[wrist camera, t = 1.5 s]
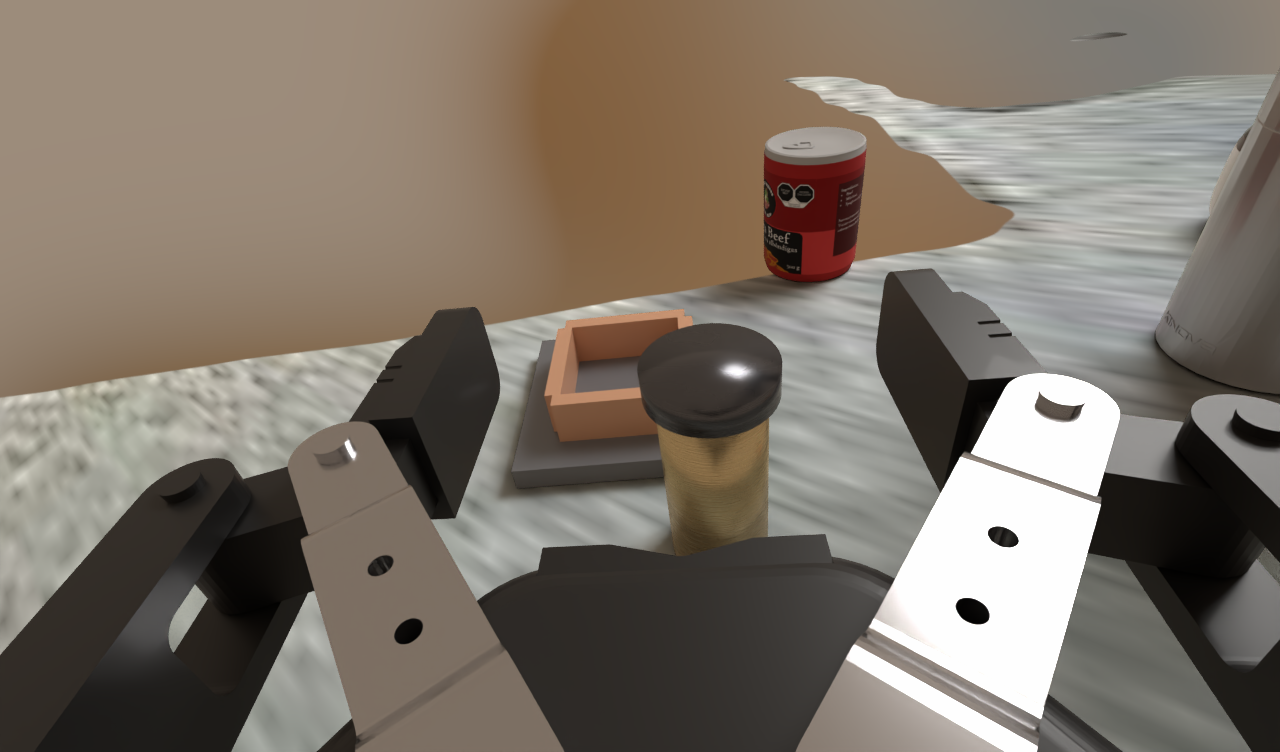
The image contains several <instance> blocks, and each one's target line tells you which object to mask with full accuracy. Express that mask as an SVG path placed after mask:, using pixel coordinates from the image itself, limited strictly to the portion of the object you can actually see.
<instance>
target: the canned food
mask: <svg viewBox="0 0 1280 752" xmlns="http://www.w3.org/2000/svg"><path fill="white" fill-rule="evenodd" d="M865 157H866V137H865V136H864V135H863V134H861V133H859V132H856V131H853V130H849V129H845V128H838V127H811V128H802V129H795V130H791V131H787V132H784V133H780V134H778V135H776V136H774V137H772V138H770V139H769V140H768V141H767V142H766V144H765V151H764V258H765V261H766V264H767V267H768V269H769V270H770V271H771V272H772V273H773V274H775V275H777V276H779V277H781V278H784V279H787V280H792V281H799V282H817V281H824V280H829V279H832V278H835V277H838V276H840V275H842V274H843V273H845V272H846V271H847V270H848V269H849V268H850V266H851V264H852V262H853V260H854V258H855V250H856V242H857V233H858V223H859V214H860V206H861V196H862V187H863V177H864V169H865Z"/></svg>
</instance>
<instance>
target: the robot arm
mask: <svg viewBox="0 0 1280 752" xmlns="http://www.w3.org/2000/svg"><path fill="white" fill-rule="evenodd" d="M1155 333H1156V340H1157V342H1158V344H1159V345H1160V347H1161V348H1162V349H1163V350H1164V351H1165V352H1166V354H1167V355H1168V356H1170V357H1171V358H1172V359H1174V360H1175V361H1177V362H1178V363H1179V364H1181V365H1183V366H1185V367H1186V368H1188V369H1190V370H1192V371H1194V372H1196V373H1198V374H1200V375H1203V376H1205V377H1208V378H1210V379H1213V380H1215V381H1218V382H1222V383H1225V384H1228V385H1231V386H1235V387H1239V388H1244V389H1248V390H1253V391H1258V392H1266V393H1273V394H1280V68H1279V70H1278V72H1277V74H1276V77H1275V79H1274V81H1273V83H1272V85H1271V87H1270V89H1269V91H1268V93H1267V96H1266V98H1265V100H1264V102H1263V104H1262V106H1261V108H1260V110H1259V112H1258V115H1257V117H1256V119H1255V121H1254V124H1253V126H1252V128H1251V130H1250V132H1249V134H1248V136H1247V138H1246V140H1245V143H1244V145H1243V147H1242V149H1241V151H1240V153H1239V155H1238V157H1237V159H1236V162H1235V164H1234V166H1233V168H1232V170H1231V172H1230V174H1229V176H1228V178H1227V181H1226V183H1225V185H1224V187H1223V189H1222V191H1221V193H1220V195H1219V197H1218V200H1217V202H1216V204H1215V206H1214V208H1213V210H1212V212H1211V214H1210V216H1209V219H1208V221H1207V223H1206V225H1205V227H1204V229H1203V231H1202V233H1201V236H1200V238H1199V240H1198V242H1197V244H1196V246H1195V248H1194V250H1193V252H1192V255H1191V257H1190V259H1189V261H1188V263H1187V265H1186V267H1185V269H1184V271H1183V274H1182V276H1181V278H1180V280H1179V282H1178V284H1177V286H1176V288H1175V290H1174V293H1173V295H1172V297H1171V299H1170V301H1169V303H1168V306H1167V308H1166V310H1165V312H1164V314H1163V316H1162V318H1161V321H1160V323H1159V325H1158V327H1157V329H1156V331H1155ZM876 355H877V363H878V367H879V371H880V374H881V376H882V378H883V380H884V382H885V384H886V386H887V388H888V390H889V392H890V394H891V396H892V398H893V400H894V402H895V404H896V406H897V408H898V410H899V412H900V414H901V416H902V418H903V419H904V421H905V423H906V425H907V427H908V429H909V431H910V433H911V435H912V437H913V439H914V441H915V443H916V445H917V447H918V449H919V451H920V453H921V455H922V457H923V459H924V461H925V463H926V465H927V467H928V469H929V471H930V473H931V475H932V477H933V479H934V481H935V483H936V485H937V487H938V489H939V491H940V493H941V494H940V496H939V498H938V500H937V502H936V504H935V506H934V507H933V509H932V511H931V513H930V515H929V517H928V519H927V521H926V522H925V524H924V526H923V528H922V530H921V532H920V534H919V535H918V537H917V539H916V541H915V543H914V545H913V547H912V548H911V550H910V552H909V554H908V556H907V558H906V560H905V562H904V563H903V565H902V567H901V569H900V571H899V573H898V575H897V576H896V578H892V577H890V576H888V575H886V574H884V573H882V572H880V571H878V570H876V569H873V568H870V567H868V566H865V565H863V564H860V563H856V562H853V561H849V560H845V559H841V558H836V557H831V553H830V550H829V546H828V542H827V539H826V535H825V534H819V535H798V536H778V537H757V538H750V539H747V540H743V541H739V542H735V543H732V544H728V545H724V546H721V547H717V548H713V549H709V550H706V551H702V552H698V553H694V554H691V555H686V556H673V555H667V554H661V553H656V552H650V551H644V550H638V549H633V548H627V547H621V546H615V545H590V546H569V547H548V548H543V549H542V554H541V559H540V564H539V569H538V570H537V571H533V572H530V573H527V574H525V575H522V576H520V577H517V578H514V579H512V580H510V581H508V582H506V583H504V584H502V585H500V586H499V587H497V588H495V589H494V590H492V591H491V592H489V593H487V594H486V595H484V596H483V597H482V598H480V599H479V600H478V601H476V599H475V597H474V595H473V594H472V592H471V590H470V588H469V586H468V585H467V583H466V581H465V579H464V578H463V576H462V574H461V572H460V571H459V569H458V567H457V565H456V564H455V562H454V560H453V558H452V556H451V555H450V553H449V551H448V549H447V548H446V546H445V544H444V542H443V541H442V539H441V537H440V535H439V534H438V532H437V530H436V528H435V526H434V525H433V523H432V521H431V519H450V518H456V515H457V512H458V509H459V507H460V504H461V501H462V498H463V496H464V493H465V490H466V488H467V485H468V482H469V479H470V477H471V474H472V471H473V468H474V466H475V463H476V460H477V457H478V455H479V452H480V449H481V446H482V444H483V441H484V438H485V435H486V433H487V430H488V427H489V424H490V422H491V419H492V416H493V414H494V411H495V408H496V405H497V403H498V399H499V394H500V379H499V373H498V369H497V366H496V362H495V359H494V356H493V352H492V349H491V346H490V342H489V339H488V336H487V333H486V329H485V326H484V323H483V320H482V317H481V314H480V312H479V311H478V309H477V308H475V307H468V308H457V309H446V310H438V311H437V312H436V313H435V314H434V316H433V317H432V319H431V320H430V322H429V324H428V325H427V327H426V329H425V330H424V332H423V333H422V335H420V336H414V337H413V338H412V339H410V340H409V341H408V342H406V343H405V344H404V345H403V346H401V347H400V348H399V349H397V350H396V351H395V353H394V354H393V356H392V357H391V359H390V360H389V362H388V363H387V365H386V366H385V368H386V370H383V371H382V372H381V374H380V375H379V377H378V378H377V383H374V385H373V386H372V388H371V389H370V391H369V392H368V394H367V395H366V397H365V398H364V400H363V401H362V403H361V404H360V406H359V407H358V409H357V410H356V412H355V413H354V415H353V416H352V418H351V419H350V421H349V422H346V423H341V424H337V425H334V426H331V427H328V428H326V429H323V430H321V431H319V432H317V433H316V434H314V435H312V436H311V437H309V438H308V439H306V440H305V441H304V442H303V443H301V444H300V445H299V446H298V447H297V448H296V450H295V451H294V452H293V453H292V455H291V457H290V459H289V461H288V467H285V468H281V469H278V470H274V471H271V472H267V473H264V474H260V475H256V476H253V477H249V478H246V479H243V478H242V477H241V476H240V474H239V473H238V471H237V470H236V468H235V467H234V465H233V464H232V463H231V462H230V461H228V460H225V459H219V458H212V459H204V460H200V461H196V462H193V463H190V464H187V465H185V466H182V467H180V468H178V469H176V470H174V471H172V472H170V473H168V474H166V475H165V476H163V477H162V478H160V479H159V480H157V481H156V482H154V483H153V484H152V485H151V486H150V487H148V488H147V489H146V490H145V491H144V492H143V493H142V494H141V496H140V497H139V498H138V499H137V500H136V501H135V502H134V503H133V505H132V506H131V507H130V508H129V509H128V510H127V511H126V513H125V514H124V515H123V516H122V517H121V518H120V519H119V521H118V522H117V523H116V524H115V525H114V526H113V527H112V529H111V530H110V531H109V532H108V533H107V534H106V535H105V536H104V538H103V539H102V540H101V541H100V542H99V543H98V544H97V546H96V547H95V548H94V549H93V550H92V551H91V552H90V554H89V555H88V556H87V557H86V558H85V559H84V560H83V561H82V563H81V564H80V565H79V566H78V567H77V568H76V569H75V571H74V572H73V573H72V574H71V575H70V576H69V577H68V579H67V580H66V581H65V582H64V583H63V584H62V585H61V587H60V588H59V589H58V590H57V591H56V592H55V593H54V594H53V596H52V597H51V598H50V599H49V600H48V601H47V602H46V604H45V605H44V606H43V607H42V608H41V609H40V610H39V612H38V613H37V614H36V615H35V616H34V617H33V618H32V619H31V621H30V622H29V623H28V624H27V625H26V626H25V627H24V629H23V630H22V631H21V632H20V633H19V634H18V635H17V637H16V638H15V639H14V640H13V641H12V642H11V643H10V644H9V646H8V647H7V648H6V649H5V650H4V651H3V652H2V654H1V655H0V752H231V751H232V749H233V747H234V744H235V742H236V740H237V738H238V736H239V734H240V732H241V730H242V728H243V726H244V724H245V722H246V720H247V718H248V716H249V714H250V711H251V709H252V707H253V705H254V703H255V701H256V699H257V697H258V695H259V693H260V691H261V689H262V687H263V685H264V683H265V681H266V679H267V676H268V674H269V672H270V670H271V668H272V666H273V664H274V662H275V660H276V658H277V656H278V654H279V652H280V650H281V648H282V646H283V643H284V641H285V639H286V637H287V635H288V633H289V631H290V629H291V627H292V625H293V623H294V621H295V619H296V617H297V615H298V613H299V610H300V608H301V606H302V604H303V602H304V600H305V598H306V596H307V594H308V593H309V592H312V591H315V594H316V597H317V600H318V604H319V607H320V611H321V614H322V617H323V621H324V624H325V627H326V631H327V634H328V638H329V641H330V644H331V648H332V651H333V655H334V658H335V661H336V665H337V668H338V672H339V675H340V678H341V682H342V685H343V689H344V692H345V695H346V699H347V702H348V706H349V709H350V712H351V716H352V719H351V720H350V721H349V722H348V723H347V724H346V725H344V726H343V727H342V728H341V729H340V730H339V731H338V732H337V733H336V734H335V735H334V736H333V737H332V738H331V739H330V740H329V741H328V742H327V743H326V744H325V745H323V746H322V747H321V748H320V749H319V750H318V751H317V752H1122V751H1121V750H1120V749H1119V748H1117V747H1116V746H1115V745H1113V744H1112V743H1111V742H1109V741H1108V740H1107V739H1106V738H1104V737H1103V736H1102V735H1100V734H1099V733H1098V732H1097V731H1095V730H1094V729H1093V728H1091V727H1090V726H1089V725H1088V724H1086V723H1085V722H1084V721H1082V720H1081V719H1080V718H1078V717H1077V716H1076V715H1075V714H1073V713H1072V712H1071V711H1069V710H1068V709H1067V708H1066V707H1064V706H1063V705H1062V704H1060V703H1059V702H1058V701H1057V700H1055V699H1054V698H1053V697H1051V696H1050V695H1049V694H1048V691H1049V687H1050V683H1051V680H1052V676H1053V673H1054V669H1055V666H1056V662H1057V658H1058V655H1059V651H1060V648H1061V644H1062V641H1063V637H1064V633H1065V630H1066V626H1067V623H1068V619H1069V616H1070V612H1071V608H1072V605H1073V601H1074V598H1075V594H1076V591H1077V587H1078V583H1079V580H1080V576H1081V573H1082V569H1083V566H1084V562H1085V558H1086V555H1087V553H1091V554H1096V555H1101V556H1106V557H1111V558H1116V559H1122V560H1125V561H1126V563H1127V564H1128V566H1129V567H1130V569H1131V570H1132V572H1133V573H1134V575H1135V576H1136V578H1137V579H1138V581H1139V582H1140V584H1141V585H1142V587H1143V588H1144V590H1145V591H1146V593H1147V594H1148V596H1149V597H1150V599H1151V600H1152V602H1153V603H1154V605H1155V606H1156V608H1157V609H1158V611H1159V612H1160V614H1161V615H1162V617H1163V618H1164V620H1165V621H1166V623H1167V624H1168V626H1169V628H1170V629H1171V631H1172V632H1173V634H1174V635H1175V637H1176V638H1177V640H1178V641H1179V643H1180V644H1181V646H1182V647H1183V649H1184V650H1185V652H1186V653H1187V655H1188V656H1189V658H1190V659H1191V661H1192V662H1193V664H1194V665H1195V667H1196V668H1197V670H1198V671H1199V673H1200V674H1201V676H1202V677H1203V679H1204V680H1205V682H1206V683H1207V685H1208V686H1209V688H1210V689H1211V691H1212V692H1213V694H1214V695H1215V697H1216V698H1217V700H1218V701H1219V703H1220V704H1221V706H1222V707H1223V709H1224V710H1225V712H1226V713H1227V715H1228V716H1229V718H1230V719H1231V721H1232V722H1233V724H1234V725H1235V727H1236V728H1237V730H1238V731H1239V733H1240V734H1241V736H1242V737H1243V739H1244V740H1245V742H1246V743H1247V745H1248V746H1249V748H1250V749H1251V751H1252V752H1280V585H1279V584H1278V582H1277V581H1276V580H1275V579H1274V578H1273V577H1272V576H1271V574H1270V573H1269V572H1268V571H1267V570H1266V569H1265V568H1264V566H1263V565H1262V564H1261V563H1260V562H1259V561H1258V560H1257V558H1258V557H1259V555H1260V554H1261V552H1262V551H1263V550H1264V548H1265V547H1266V548H1267V549H1268V550H1269V551H1270V552H1271V553H1272V554H1273V555H1274V557H1275V558H1276V559H1277V560H1278V561H1279V562H1280V404H1279V403H1275V402H1272V401H1269V400H1265V399H1261V398H1256V397H1251V396H1245V395H1234V394H1220V395H1212V396H1207V397H1204V398H1202V399H1199V400H1198V401H1196V402H1195V403H1194V405H1193V406H1192V408H1191V409H1190V411H1189V413H1188V415H1187V417H1186V419H1185V421H1184V422H1178V421H1170V420H1162V419H1155V418H1147V417H1139V416H1131V415H1125V414H1120V413H1119V409H1118V407H1117V405H1116V403H1115V402H1114V401H1113V400H1112V399H1111V398H1110V397H1109V396H1108V395H1107V394H1106V393H1104V392H1103V391H1101V390H1100V389H1098V388H1096V387H1094V386H1092V385H1090V384H1088V383H1085V382H1083V381H1080V380H1077V379H1074V378H1070V377H1066V376H1061V375H1053V374H1048V373H1047V371H1046V370H1045V369H1044V368H1043V367H1042V366H1041V365H1040V364H1039V363H1038V361H1037V360H1036V359H1035V358H1034V357H1033V356H1032V355H1031V354H1030V352H1029V351H1028V350H1027V349H1026V348H1025V347H1024V346H1023V345H1022V344H1021V342H1020V341H1019V340H1018V339H1017V338H1016V337H1015V336H1012V332H1011V331H1010V330H1009V329H1008V328H1007V327H1006V326H1005V325H1004V323H1000V319H999V318H998V317H997V316H996V314H995V313H994V312H993V311H992V310H991V309H990V308H989V307H988V306H987V304H985V303H983V302H981V301H979V300H977V299H976V298H974V297H972V296H970V295H968V294H966V293H964V292H952V291H951V290H950V289H949V287H948V286H947V285H946V284H945V283H944V281H943V280H942V279H941V278H940V277H939V275H938V274H937V273H936V272H935V271H934V270H933V269H919V270H907V271H895V272H890V273H888V275H887V276H886V279H885V283H884V289H883V297H882V305H881V312H880V320H879V327H878V335H877V343H876ZM194 585H196V586H197V587H198V588H199V589H200V590H201V591H202V593H203V594H204V595H205V596H206V597H207V598H208V600H207V601H206V603H205V604H204V606H203V608H202V609H201V611H200V612H199V614H198V615H197V617H196V619H195V620H194V622H193V623H192V625H191V627H190V628H189V630H188V631H187V633H186V634H185V636H184V638H183V639H182V641H181V642H180V644H179V645H178V647H177V649H176V650H175V652H174V653H173V652H172V650H171V648H170V645H169V639H168V633H169V627H170V624H171V621H172V618H173V616H174V615H175V613H176V611H177V610H178V608H179V607H180V606H181V604H182V603H183V601H184V600H185V598H186V597H187V595H188V594H189V592H190V591H191V589H192V588H193V586H194Z"/></svg>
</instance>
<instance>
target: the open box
mask: <svg viewBox="0 0 1280 752" xmlns="http://www.w3.org/2000/svg"><path fill="white" fill-rule="evenodd" d="M692 325H693V322H692V316H684V309H679V310H669V311H659V312H649V313H639V314H629V315H619V316H609V317H599V318H589V319H579V320H569V321H566V326H565V328H563V329H558V332H557V337H556V340H548V341H542V345H541V349H540V353H539V357H538V361H537V366H536V370H535V374H534V378H533V382H532V387H531V391H530V395H529V399H528V403H527V408H526V412H525V416H524V420H523V424H522V428H521V433H520V437H519V441H518V445H517V449H516V454H515V458H514V462H513V466H512V470H511V473H512V475H513V478H514V481H515V484H516V487H517V488H530V487H543V486H556V485H569V484H581V483H594V482H607V481H620V480H633V479H646V478H658V477H664V473H663V466H662V459H661V452H660V445H659V437H658V430H657V424H656V423H655V422H654V421H653V420H652V419H651V418H650V417H649V416H648V414H647V413H646V411H645V409H644V407H643V404H642V400H641V393H640V387H639V380H638V373H637V366H638V362H639V359H640V357H641V355H642V353H643V352H644V351H645V349H646V348H647V347H648V346H649V345H650V344H651V343H653V342H654V341H655V340H657V339H658V338H660V337H662V336H663V335H665V334H667V333H669V332H672V331H674V330H677V329H680V328H684V327H688V326H692Z"/></svg>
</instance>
